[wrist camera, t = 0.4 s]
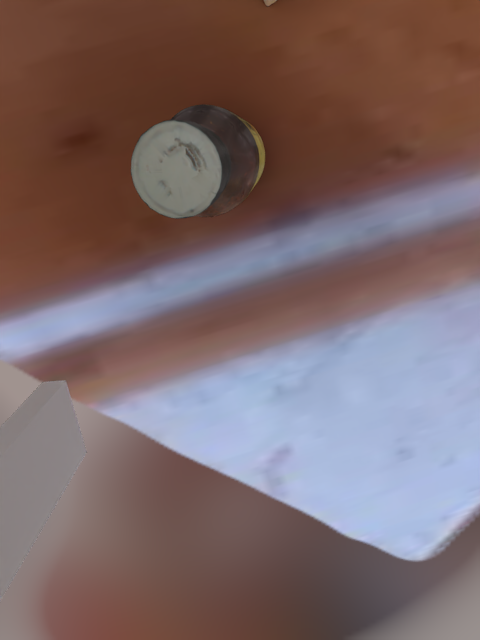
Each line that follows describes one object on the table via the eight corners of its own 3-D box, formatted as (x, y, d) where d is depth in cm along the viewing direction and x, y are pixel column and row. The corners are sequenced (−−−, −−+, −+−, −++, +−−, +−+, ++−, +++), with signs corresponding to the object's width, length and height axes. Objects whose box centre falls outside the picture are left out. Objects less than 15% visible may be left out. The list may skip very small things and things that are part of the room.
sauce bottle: (264, 114, 36) (263, 79, 17) (266, 194, 38) (267, 240, 19) (184, 119, 36) (98, 90, 18) (190, 197, 38) (121, 245, 20)
